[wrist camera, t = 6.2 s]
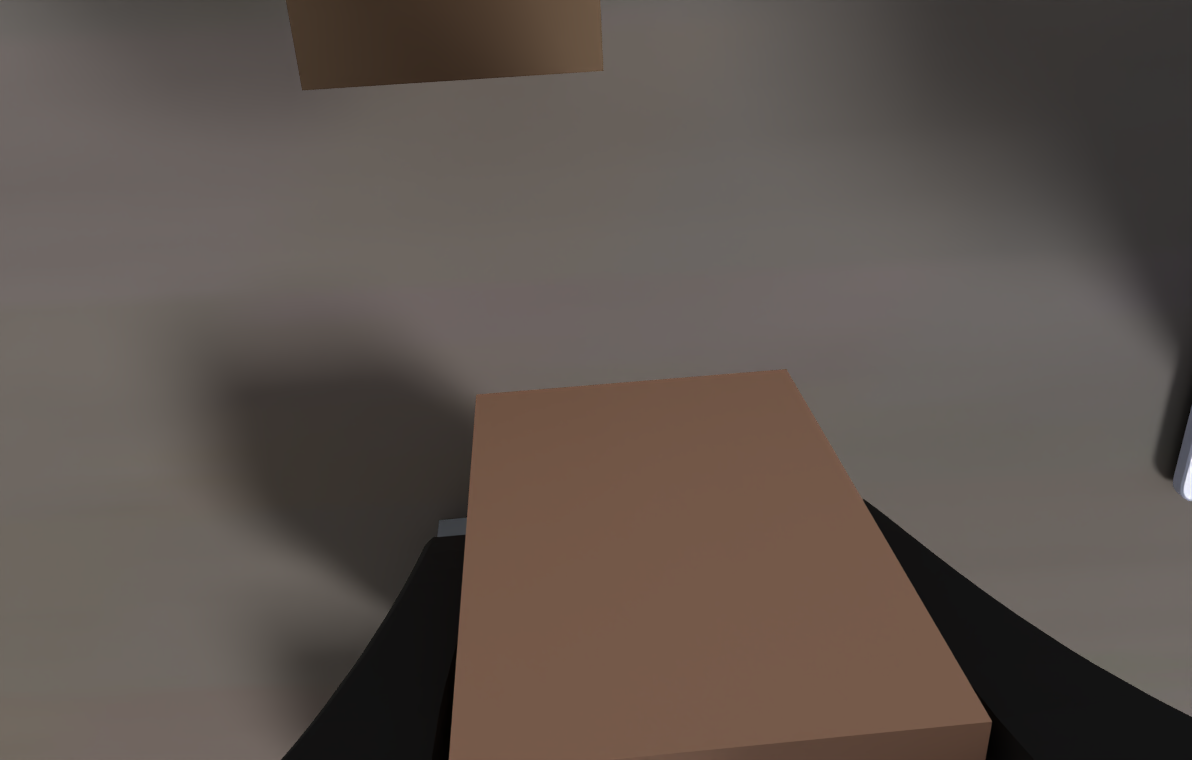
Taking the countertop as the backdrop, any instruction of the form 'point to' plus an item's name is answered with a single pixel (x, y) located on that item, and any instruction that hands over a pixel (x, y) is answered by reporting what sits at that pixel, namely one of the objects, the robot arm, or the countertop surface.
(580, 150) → the countertop surface
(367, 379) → the countertop surface
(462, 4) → the walnut block
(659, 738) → the terracotta block
